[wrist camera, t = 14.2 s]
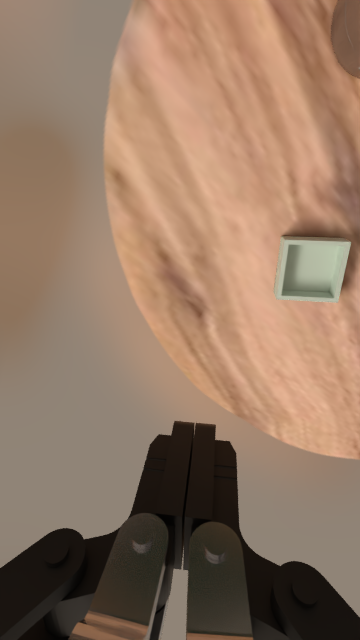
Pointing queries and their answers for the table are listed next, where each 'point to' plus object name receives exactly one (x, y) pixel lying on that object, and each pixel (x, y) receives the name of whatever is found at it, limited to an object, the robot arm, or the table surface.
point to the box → (311, 268)
